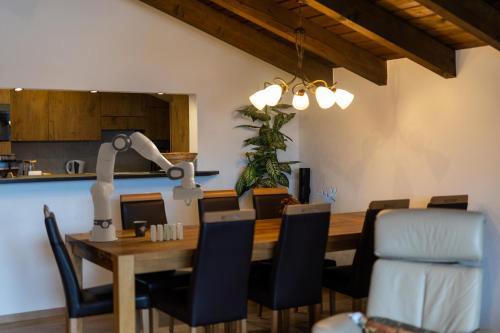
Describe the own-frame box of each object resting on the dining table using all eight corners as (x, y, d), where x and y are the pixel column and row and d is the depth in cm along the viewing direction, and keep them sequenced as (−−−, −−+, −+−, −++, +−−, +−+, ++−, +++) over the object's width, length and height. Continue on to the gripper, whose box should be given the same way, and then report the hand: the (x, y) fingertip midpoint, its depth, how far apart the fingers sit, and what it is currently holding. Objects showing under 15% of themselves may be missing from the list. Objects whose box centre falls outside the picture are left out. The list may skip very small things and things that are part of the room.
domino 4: (170, 239, 444) (170, 223, 443) (173, 238, 445) (173, 223, 444) (173, 240, 439) (173, 224, 439) (176, 239, 440) (176, 224, 440)
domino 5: (177, 238, 446) (177, 223, 445) (180, 238, 447) (180, 223, 446) (179, 239, 441) (179, 224, 441) (182, 239, 442) (182, 223, 442)
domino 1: (151, 240, 438) (150, 225, 438) (154, 240, 439) (153, 225, 439) (153, 241, 434) (153, 226, 433) (156, 241, 434) (156, 225, 434)
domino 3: (164, 239, 442) (164, 224, 442) (167, 239, 443) (166, 224, 442) (166, 240, 437) (166, 225, 437) (169, 240, 438) (169, 224, 438)
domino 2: (157, 240, 440) (157, 224, 440) (160, 239, 441) (160, 224, 441) (160, 241, 435) (159, 225, 435) (163, 240, 436) (162, 225, 436)
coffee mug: (134, 237, 453) (133, 222, 453) (133, 235, 462) (133, 221, 462) (151, 236, 456) (151, 222, 455) (150, 235, 464) (150, 220, 464)
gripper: (174, 186, 438) (174, 207, 439) (203, 184, 447) (204, 205, 447) (171, 185, 444) (171, 206, 444) (200, 184, 452) (200, 205, 453)
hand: (188, 206), depth 446 cm, fingers closed
